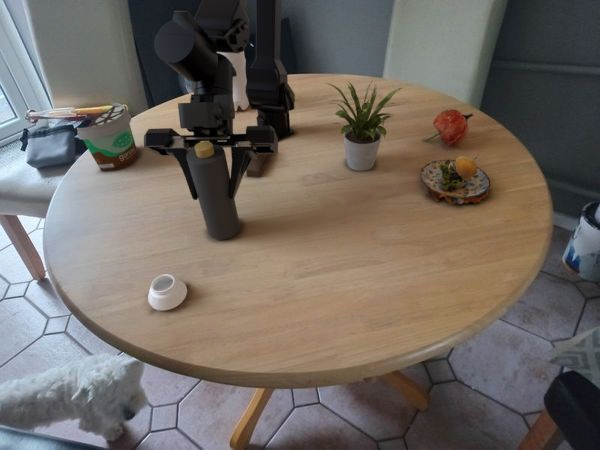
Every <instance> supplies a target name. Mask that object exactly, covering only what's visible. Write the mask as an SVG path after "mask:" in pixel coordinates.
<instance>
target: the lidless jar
mask: <svg viewBox="0 0 600 450" xmlns="http://www.w3.org/2000/svg"><path fill="white" fill-rule="evenodd" d="M187 294H188V289H187V285H186V283H184V281H182V280H181V279H179V278H177V277H175V276H173V275H172V274H166V273H165V274H160V275H158V276H156V277H154V279H153V280H152V281H151V284H150V288H149V292H148V295H147V299H148V300H147V301H148V304H149V305H150V306H151V308H152V309H154V310H157V311H169V310H172V309H175V308H176V307H178V306H179V305H180V304H182V303H183V302H184V300H185V299H186V297H187Z"/></svg>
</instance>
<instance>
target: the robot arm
mask: <svg viewBox="0 0 600 450" xmlns="http://www.w3.org/2000/svg"><path fill="white" fill-rule="evenodd" d="M247 5H248V0H201V1H200V4H199V7H198V9H197V11H196V13H195V16H194V15H192V14H191V12H189V11H188V10H174V11H173V15H172V19H170V20H168V21H167V22H165V23H164V24H163V25H162V26H161V27H160V28H159V30H158V32H157V33H156V34H155V36H154V40H153V46H154V51H155V54H156V56H157V57H158V58H159V59H160V60H161V61H162V62H163V63H164V64H166V65H167V66H168V67H170V68H171V69H172V70H174V71H175V72H176V73H177V74H179V75H180V76H182V77H183V78H184V79H186V80H187V81H189V82H192V83H193V94H190V97H189V98H190V99H189V102H178V103H177V109H178V118H179V126H180V129H186V130H187V132H189V133H192V134H184V135H183V134H180V133H178V132H177V131H176V130H175V129H173V128H172V127H166V128H165V127H164V128H147V130H146V132H145V133H144V135H143V148H145V149H147V150H148V151H150V152H152V153H153V154H156V155H157V156H160V157H172V158H174V159H175V160H177V161H176V162H178V164H179V166H180V168H181V170H182V172H183V175H184V178H185V181H186V184H187V187H188V189H189V193H190V195H191V198H192V200H193V201H198V200H199V199H198V196H197V193H196V189H195V186H194V182H193V179H192V175H191V172H190V168H189V165H188V162H187V158H186V156H187V153H188V152H189V151H190V150H191V149H193V148H195V145H196V144H198V143H200V142H205V141H207V142H211V143H212V144H215V145H219V146H221V147H222V148H230V152H231V153H230V154H231V169H230V199H236V196H237V193H238V190H239V188H240V185H241V183H242V180H243V177H244V176H245V173H246V170H247V168H248V166H249V164H250V162H251V161H252V160H253V159H258V155H257V154H256V152H257V153H258V154H271V155H272V154H274V155H275V154H278V153H279V140H282V139H283V138H286V137H288V136H291V135H293V134H295V129H293V128H291V122H290V121H291V120H290V112H291V111H293V110H295V109H296V108H295V102H296V98H295V97H296V94H295V92H294V91H293V89H292V88H291V86H290V84H289V82H288V79H289V78H288V73H287V69H286V68H285V67H284V66H285V65H284V64H283V62H282V61H281V33H282V0H255V59H254V61H253V62H252V64H251V66H250V67H249V66H248V67H247V68H246V70H245V71H246V80H247V83H246V96H247V99H248V102H249V107H250V109H251V110H256V111H257V116H256V125H246V129H245V133H234V120H235V118H236V111H235V108H234V102H233V77H235V76H236V75H237V73H236V70H235V68H234V67H233V64H232V63H231V62H230V61H229V59H228V58H227V57H225V56H224V55H222V54H220V53H240V52H243V51H244V52H245V49H246V47H247V45H248V43H249V40H250V36H251V30H250V27H251V20H250V18H249V15H248V12H247ZM217 52H220V53H217Z"/></svg>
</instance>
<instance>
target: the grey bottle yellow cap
mask: <svg viewBox="0 0 600 450" xmlns="http://www.w3.org/2000/svg"><path fill="white" fill-rule="evenodd" d="M186 158H187V162H188V165H189V168H190V172H191V175H192V179H193V182H194V186H195V189H196V193H197V196H198V199H197V200H198V203H199V206H200V209H201V214H202V217H203V219H204V224H205V227H206V231H207V233H208V235H209V236H210V237H211V238H212V239H214V240H219V241H220V240H227V239H231V238H232V237H234V236H236V235H237V234H238V233H239V231H240V228H241V223H240V218H239V215H238V214H239V213H238V210H237V205H236V200H235V199H236V198H234V199H230V178H231V174H230V169H229V166H228V161H227V155H226V151H225V149H224V147H221V146H219V145H215V144H212V143H211V142H209V141H201V142H200V143H198V144H196V145H195V148H193V149H191V150H190V151H189V152H188V153H187V156H186Z"/></svg>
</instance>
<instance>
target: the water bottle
mask: <svg viewBox="0 0 600 450" xmlns="http://www.w3.org/2000/svg"><path fill="white" fill-rule="evenodd" d="M217 53H220V52H217ZM220 54H222V55H224V56H225V57H227V58H228V59H229V61H230V62H231V63H232V64H233V67H234V68H235V70H236V73H237V75H236V76H235V77H233V102H234V108H235V112H237V111H238V108H240V109H241V111H245V110H247V109H248V108H249V106H250V104H249V102H248V99H247V96H246V83H247V77H246V71H247V70H246V66H247V65H246V64H247V59H246V56H245V50H244V51H243V52H240V53H220Z"/></svg>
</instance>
